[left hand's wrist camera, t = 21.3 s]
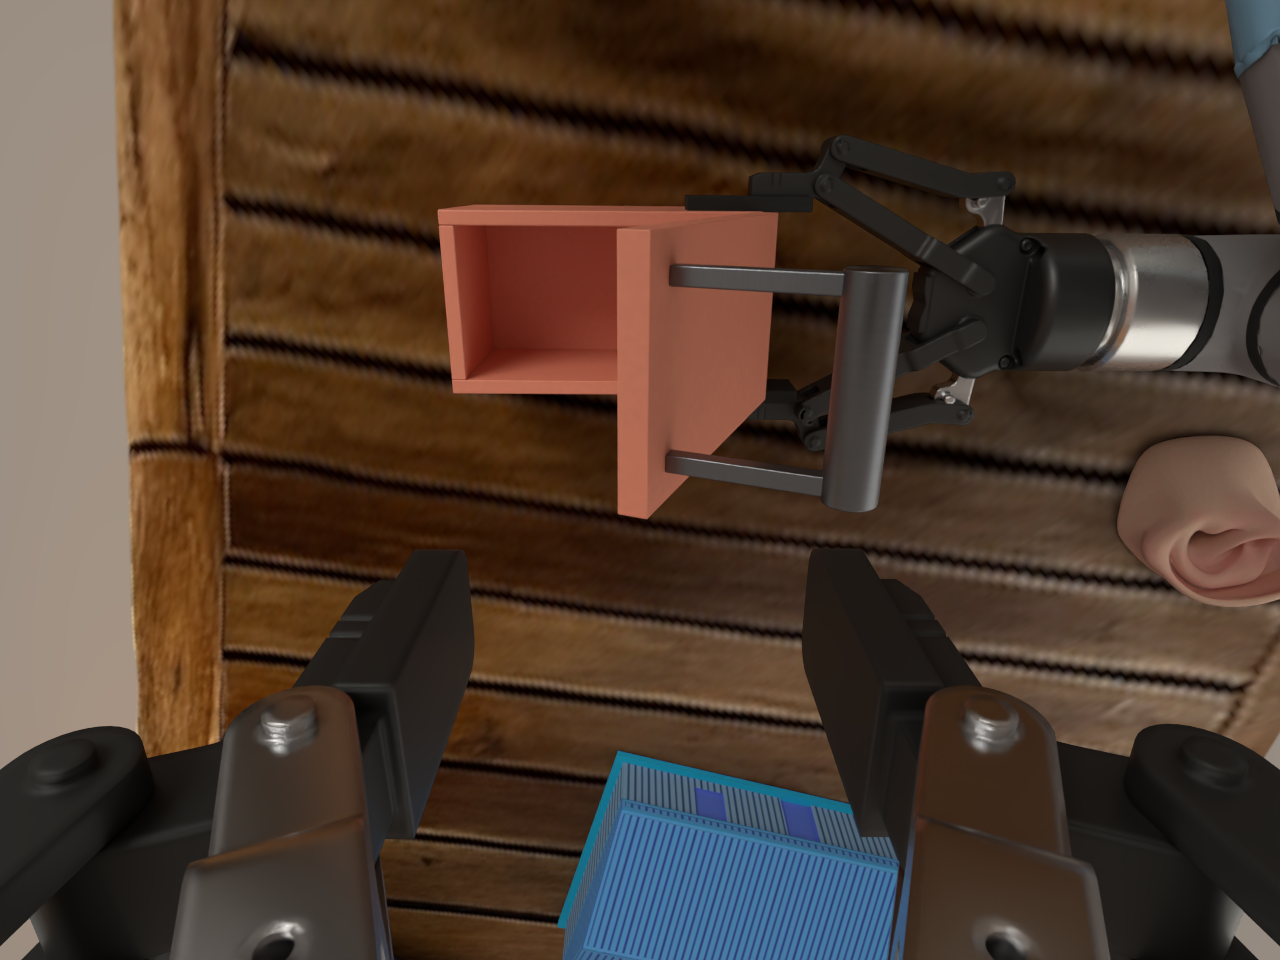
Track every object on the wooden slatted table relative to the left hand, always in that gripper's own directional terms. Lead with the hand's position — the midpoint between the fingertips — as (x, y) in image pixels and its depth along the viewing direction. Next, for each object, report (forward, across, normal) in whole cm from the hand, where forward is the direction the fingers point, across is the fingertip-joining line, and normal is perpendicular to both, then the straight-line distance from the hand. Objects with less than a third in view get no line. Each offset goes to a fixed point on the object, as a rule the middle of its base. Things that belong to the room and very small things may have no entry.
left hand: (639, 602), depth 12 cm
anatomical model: (+39, +40, -16) cm, 59 cm away
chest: (+40, -2, 0) cm, 40 cm away
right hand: (+32, +2, 0) cm, 33 cm away
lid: (+22, +3, 0) cm, 22 cm away
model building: (+39, +14, -54) cm, 69 cm away
